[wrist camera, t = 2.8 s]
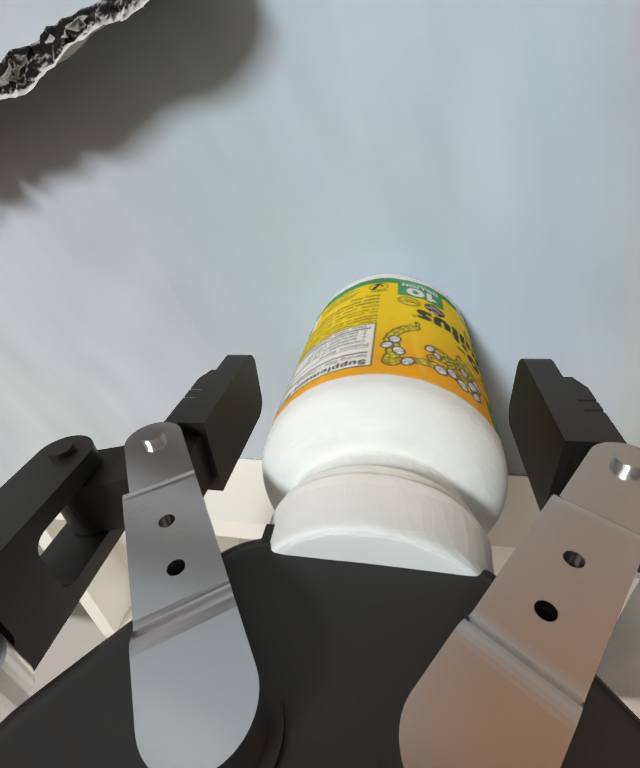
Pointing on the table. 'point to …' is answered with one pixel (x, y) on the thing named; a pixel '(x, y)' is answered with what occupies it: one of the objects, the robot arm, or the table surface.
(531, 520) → the rack
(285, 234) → the table surface
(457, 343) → the supplement bottle
